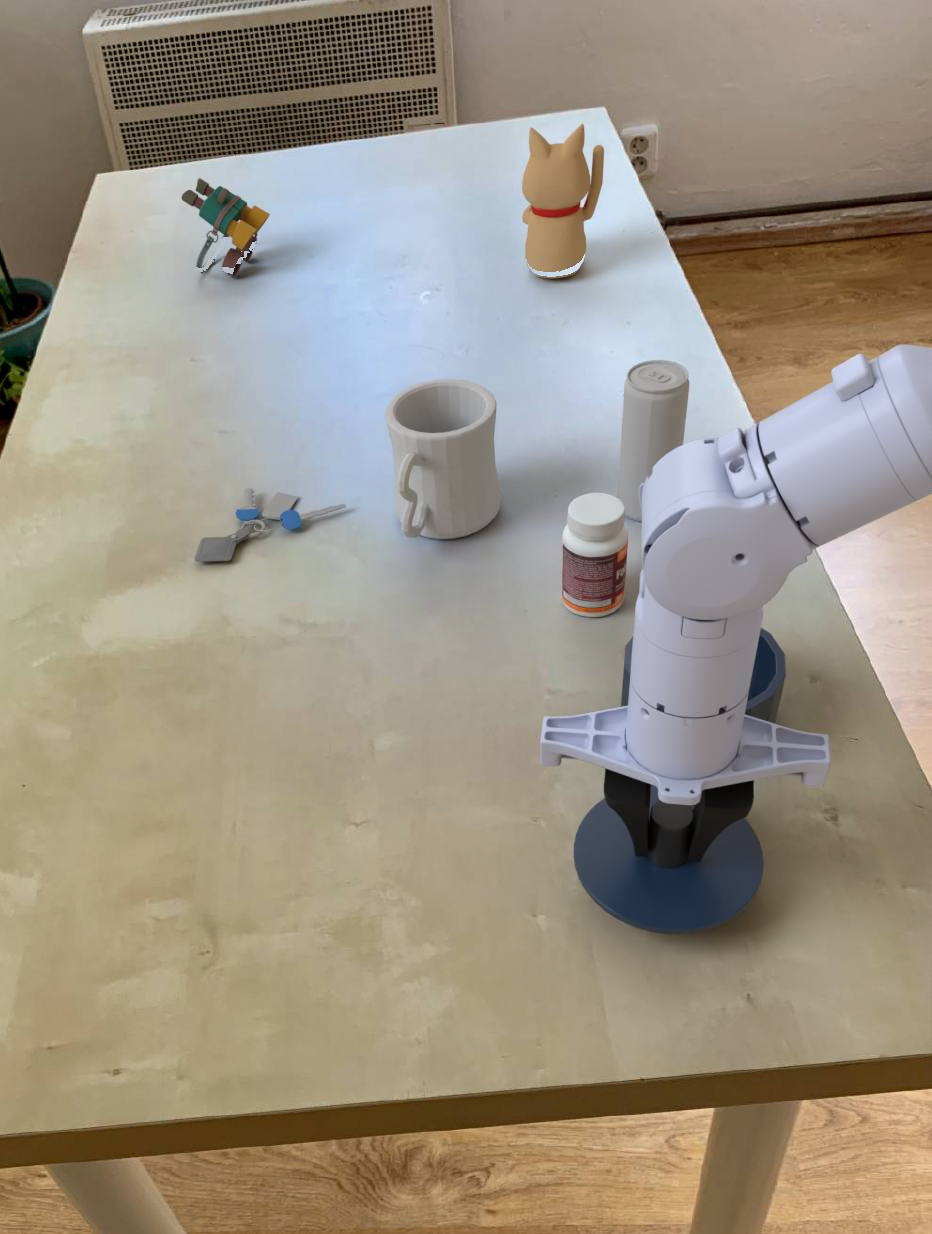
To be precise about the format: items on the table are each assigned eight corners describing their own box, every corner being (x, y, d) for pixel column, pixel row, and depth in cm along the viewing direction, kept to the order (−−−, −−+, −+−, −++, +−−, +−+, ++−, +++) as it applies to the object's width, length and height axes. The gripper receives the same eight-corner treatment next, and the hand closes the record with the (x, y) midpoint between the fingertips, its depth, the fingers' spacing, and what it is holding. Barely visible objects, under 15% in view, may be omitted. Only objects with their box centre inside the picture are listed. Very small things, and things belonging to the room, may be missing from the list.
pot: (805, 724, 73) (820, 665, 69) (693, 796, 70) (703, 739, 66) (696, 647, 79) (704, 589, 75) (590, 710, 76) (592, 653, 72)
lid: (801, 876, 63) (816, 825, 60) (661, 974, 60) (668, 927, 57) (669, 767, 70) (675, 716, 66) (536, 851, 67) (536, 802, 63)
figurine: (599, 245, 125) (605, 101, 114) (599, 284, 119) (605, 135, 108) (524, 249, 127) (523, 107, 116) (520, 288, 120) (518, 141, 109)
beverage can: (641, 484, 93) (652, 352, 84) (688, 505, 91) (704, 371, 82) (604, 510, 91) (611, 378, 83) (650, 532, 89) (662, 398, 80)
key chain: (205, 575, 92) (202, 567, 91) (166, 529, 97) (164, 521, 96) (348, 511, 95) (346, 503, 95) (304, 470, 101) (302, 463, 100)
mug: (423, 473, 98) (414, 370, 91) (517, 491, 95) (515, 385, 87) (359, 554, 91) (343, 449, 84) (458, 576, 88) (451, 470, 80)
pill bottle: (628, 616, 82) (635, 525, 76) (564, 621, 83) (566, 530, 77) (619, 577, 85) (625, 485, 79) (558, 581, 86) (559, 491, 80)
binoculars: (222, 303, 131) (249, 233, 124) (155, 260, 130) (178, 186, 122) (251, 268, 137) (279, 199, 129) (187, 227, 136) (211, 154, 128)
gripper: (532, 725, 53) (535, 888, 63) (854, 747, 49) (802, 916, 59) (547, 629, 57) (547, 795, 67) (842, 643, 54) (796, 815, 64)
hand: (667, 845), depth 64 cm, fingers closed on lid, 2 cm apart
